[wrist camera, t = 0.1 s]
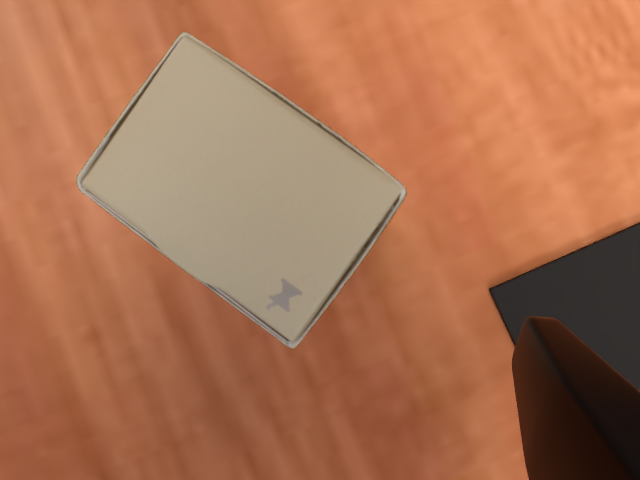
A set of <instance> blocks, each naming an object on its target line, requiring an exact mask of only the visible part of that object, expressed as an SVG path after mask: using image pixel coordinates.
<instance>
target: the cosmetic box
mask: <svg viewBox="0 0 640 480" xmlns="http://www.w3.org/2000/svg"><path fill="white" fill-rule="evenodd" d="M77 185H78V188H79V190H80V191H81V192H82V193H83V194H85V195H86V196H88V197H89V198H90V199H92V200H93V201H94V202H95V203H97V204H98V205H99V206H101V207H102V208H103V209H104V210H106V211H107V212H108V213H110V214H111V215H112V216H113V217H115V218H116V219H117V220H119V221H120V222H121V223H123V224H124V225H125V226H127V227H128V228H129V229H131V230H132V231H133V232H135V233H136V234H137V235H138V236H140V237H141V238H142V239H144V240H145V241H147V242H148V243H150V244H151V245H152V246H153V247H154V248H156V249H157V250H158V251H159V252H161V253H162V254H163V255H165V256H166V257H167V258H169V259H170V260H171V261H173V262H174V263H175V264H177V265H178V266H179V267H180V268H182V269H183V270H184V271H186V272H187V273H189V274H190V275H191V276H193V277H194V278H196V279H197V280H198V281H200V282H201V283H203V284H204V285H205V286H207V287H208V288H210V289H211V290H212V291H214V292H215V293H216V294H218V295H219V296H220V297H222V298H223V299H224V300H226V301H227V302H228V303H229V304H231V305H232V306H233V307H235V308H236V309H238V310H239V311H240V312H242V313H243V314H244V315H246V316H247V317H248V318H250V319H251V320H252V321H254V322H255V323H256V324H258V325H259V326H260V327H262V328H263V329H265V330H266V331H268V332H269V333H270V334H272V335H273V336H274V337H276V338H277V339H278V340H280V341H281V342H282V343H283V344H284V345H286V346H288V347H290V348H295V347H296V346H297V345H298V344H299V343H300V342H301V340H302V339H303V338H304V337H305V335H306V334H307V333H308V332H309V330H310V329H311V328H312V326H313V325H314V324H315V323H316V321H317V320H318V319H319V317H320V316H321V315H322V314H323V312H324V311H325V310H326V308H327V307H328V306H329V305H330V303H331V302H332V301H333V299H334V298H335V297H336V295H337V294H338V293H339V291H340V290H341V289H342V287H343V286H344V285H345V283H346V282H347V281H348V279H349V278H350V277H351V275H352V274H353V272H354V271H355V270H356V268H357V267H358V266H359V264H360V263H361V262H362V260H363V259H364V258H365V256H366V255H367V253H368V252H369V251H370V249H371V248H372V246H373V245H374V243H375V242H376V240H377V239H378V238H379V236H380V235H381V233H382V232H383V230H384V229H385V227H386V226H387V224H388V223H389V222H390V220H391V219H392V217H393V216H394V214H395V213H396V211H397V210H398V208H399V207H400V205H401V204H402V202H403V201H404V199H405V197H406V194H407V192H406V189H405V187H404V186H403V184H402V183H401V182H399V181H398V180H397V179H395V178H394V177H393V176H392V175H390V174H389V173H388V172H387V171H386V170H384V169H383V168H382V167H381V166H379V165H378V164H377V163H375V162H374V161H373V160H372V159H370V158H369V157H368V156H367V155H365V154H364V153H363V152H361V151H360V150H359V149H357V148H356V147H355V146H354V145H352V144H351V143H350V142H348V141H347V140H346V139H344V138H343V137H342V136H340V135H339V134H338V133H336V132H335V131H333V130H332V129H330V128H329V127H328V126H326V125H325V124H324V123H322V122H321V121H319V120H318V119H316V118H315V117H313V116H312V115H311V114H309V113H308V112H307V111H305V110H304V109H302V108H301V107H299V106H298V105H296V104H295V103H293V102H292V101H290V100H289V99H288V98H286V97H285V96H283V95H282V94H281V93H279V92H278V91H276V90H275V89H273V88H272V87H270V86H269V85H267V84H266V83H264V82H263V81H261V80H260V79H258V78H257V77H255V76H254V75H252V74H251V73H249V72H248V71H246V70H245V69H243V68H242V67H240V66H239V65H237V64H236V63H234V62H232V61H231V60H229V59H228V58H226V57H225V56H223V55H222V54H220V53H219V52H217V51H216V50H214V49H212V48H211V47H209V46H208V45H206V44H205V43H203V42H201V41H200V40H198V39H197V38H195V37H194V36H192V35H191V34H189V33H187V32H183V33H181V34H180V35H179V36H178V37H177V38H176V40H175V41H174V43H173V44H172V46H171V47H170V48H169V50H168V51H167V53H166V54H165V56H164V57H163V58H162V59H161V61H160V62H159V63H158V64H157V66H156V67H155V68H154V70H153V71H152V72H151V74H150V75H149V76H148V78H147V79H146V81H145V82H144V83H143V85H142V86H141V87H140V88H139V90H138V91H137V93H136V94H135V95H134V96H133V97H132V99H131V101H130V102H129V103H128V105H127V106H126V108H125V109H124V111H123V112H122V113H121V115H120V116H119V118H118V119H117V120H116V122H115V123H114V124H113V126H112V127H111V128H110V130H109V131H108V132H107V134H106V135H105V137H104V138H103V139H102V141H101V142H100V144H99V145H98V147H97V148H96V150H95V151H94V153H93V154H92V155H91V157H90V158H89V160H88V161H87V162H86V164H85V165H84V167H83V168H82V170H81V171H80V173H79V174H78V176H77Z"/></svg>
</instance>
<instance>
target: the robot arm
mask: <svg viewBox="0 0 640 480" xmlns="http://www.w3.org/2000/svg"><path fill="white" fill-rule="evenodd" d="M512 372H513V379H514V386H515V394H516V401H517V408H518V415H519V423H520V430H521V437H522V444H523V451H524V457H525V464H526V468H527V473H528V477H529V480H640V391H639V390H638V389H637V388H636V387H635V386H633V385H632V384H631V383H630V382H629V381H628V380H627V379H625V378H624V377H623V376H622V375H621V374H620V373H619V372H617V371H616V370H615V369H614V368H613V367H612V366H610V365H609V364H608V363H607V362H606V361H605V360H604V359H602V358H601V357H600V356H599V355H598V354H597V353H596V352H594V351H593V350H592V349H591V348H590V347H589V346H588V345H586V344H585V343H584V342H583V341H582V340H581V339H580V338H578V337H577V336H576V335H575V334H574V333H573V332H572V331H570V330H569V329H568V328H567V327H566V326H565V325H564V324H562V323H561V322H560V321H559V320H557V319H555V318H551V317H537V316H530V317H528V318H526V319H525V321H524V322H523V325H522V328H521V331H520V334H519V337H518V341H517V344H516V347H515V350H514V353H513V358H512Z"/></svg>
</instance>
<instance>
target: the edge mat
mask: <svg viewBox="0 0 640 480" xmlns="http://www.w3.org/2000/svg"><path fill="white" fill-rule="evenodd" d="M489 290H490V293H491V295H492V297H493V299H494V301H495V303H496V306H497V308H498V310H499V312H500V314H501V316H502V319H503V321H504V323H505V325H506V327H507V329H508V331H509V334H510V336H511V338H512V340H513V342H514V344H515V347H516V344H517V341H518V337H519V334H520V331H521V328H522V325H523V322H524V321H525V319H526V318H528V317H530V316H537V317H551V318H555V319H557V320H559V321H560V322H561V323H562V324H564V325H565V326H566V327H567V328H568V329H569V330H570V331H572V332H573V333H574V334H575V335H576V336H577V337H578V338H580V339H581V340H582V341H583V342H584V343H585V344H586V345H588V346H589V347H590V348H591V349H592V350H593V351H594V352H596V353H597V354H598V355H599V356H600V357H601V358H602V359H604V360H605V361H606V362H607V363H608V364H609V365H610V366H612V367H613V368H614V369H615V370H616V371H617V372H619V373H620V374H621V375H622V376H623V377H624V378H625V379H627V380H628V381H629V382H630V383H631V384H632V385H633V386H635V387H636V388H637V389H638V390H639V391H640V223H638V224H636V225H633V226H631V227H629V228H627V229H624V230H622V231H620V232H618V233H615V234H613V235H611V236H608V237H606V238H604V239H602V240H599V241H597V242H595V243H593V244H590V245H588V246H586V247H583V248H581V249H579V250H577V251H574V252H572V253H570V254H567V255H565V256H563V257H561V258H558V259H556V260H554V261H552V262H549V263H547V264H545V265H542V266H540V267H538V268H536V269H533V270H531V271H529V272H527V273H524V274H522V275H520V276H517V277H515V278H513V279H511V280H508V281H506V282H504V283H502V284H499V285H497V286H495V287H492V288H490V289H489Z"/></svg>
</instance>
